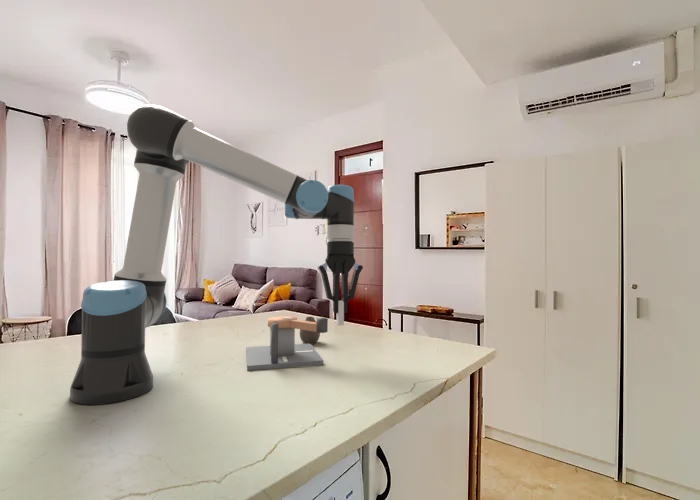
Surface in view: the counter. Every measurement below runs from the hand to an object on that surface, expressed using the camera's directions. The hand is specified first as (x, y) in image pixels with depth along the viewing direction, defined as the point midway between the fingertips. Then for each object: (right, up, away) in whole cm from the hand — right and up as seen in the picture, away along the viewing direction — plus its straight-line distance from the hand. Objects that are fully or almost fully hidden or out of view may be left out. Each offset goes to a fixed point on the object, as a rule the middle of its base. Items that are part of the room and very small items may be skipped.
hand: (340, 324), depth 106 cm
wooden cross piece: (-12, -1, 0) cm, 12 cm away
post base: (-17, -10, +3) cm, 20 cm away
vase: (-11, -11, +22) cm, 27 cm away
